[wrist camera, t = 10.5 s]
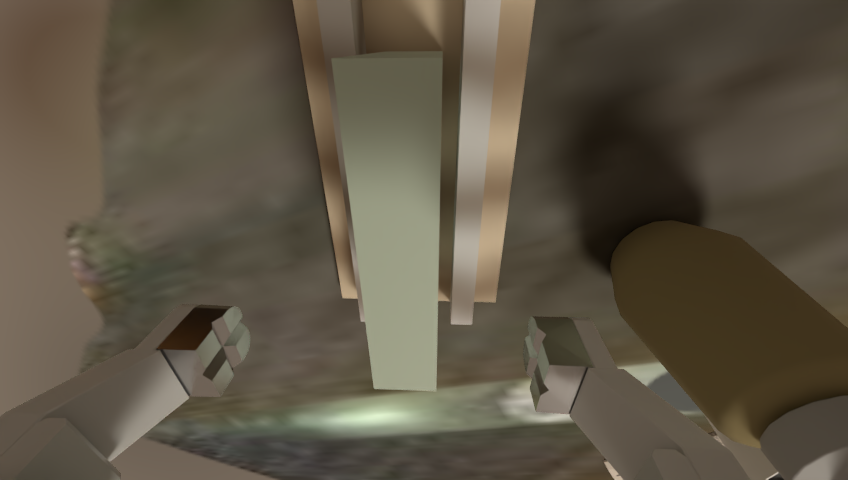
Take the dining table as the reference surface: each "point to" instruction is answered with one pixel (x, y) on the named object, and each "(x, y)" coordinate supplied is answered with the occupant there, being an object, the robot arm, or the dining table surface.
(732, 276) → the squeeze bottle
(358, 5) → the door track
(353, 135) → the door panel
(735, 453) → the grey cylinder
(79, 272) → the dining table surface
